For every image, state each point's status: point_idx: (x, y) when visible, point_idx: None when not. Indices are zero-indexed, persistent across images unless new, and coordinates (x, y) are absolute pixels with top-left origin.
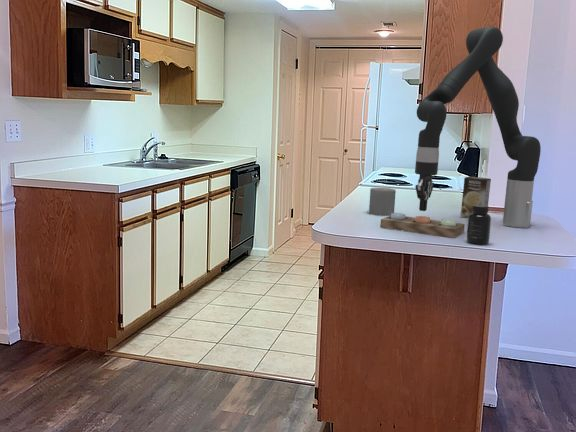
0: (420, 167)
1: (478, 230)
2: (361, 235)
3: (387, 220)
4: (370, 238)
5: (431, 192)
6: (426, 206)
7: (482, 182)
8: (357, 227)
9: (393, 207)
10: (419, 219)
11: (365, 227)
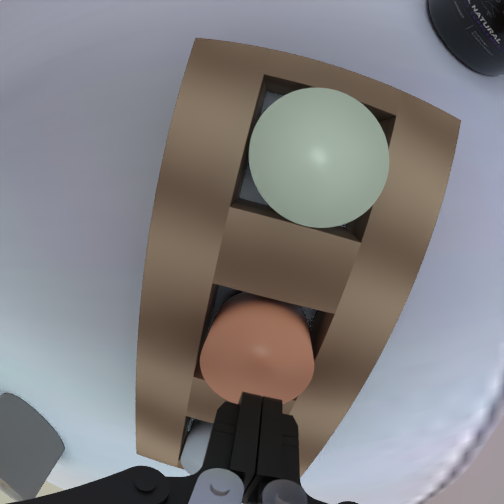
0: None
1: None
2: (442, 459)
3: (302, 474)
4: (479, 432)
5: (72, 491)
6: (252, 419)
7: None
8: (317, 495)
9: (7, 416)
10: (308, 378)
11: (307, 485)
